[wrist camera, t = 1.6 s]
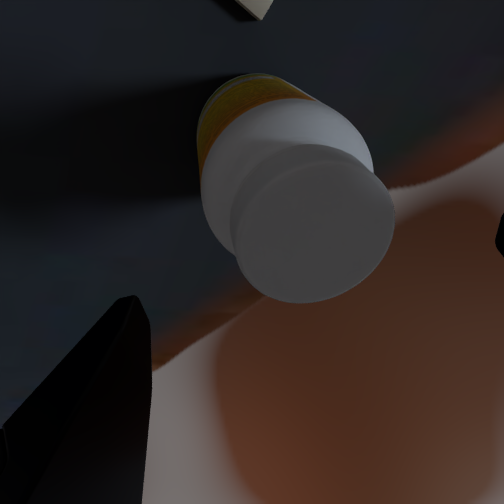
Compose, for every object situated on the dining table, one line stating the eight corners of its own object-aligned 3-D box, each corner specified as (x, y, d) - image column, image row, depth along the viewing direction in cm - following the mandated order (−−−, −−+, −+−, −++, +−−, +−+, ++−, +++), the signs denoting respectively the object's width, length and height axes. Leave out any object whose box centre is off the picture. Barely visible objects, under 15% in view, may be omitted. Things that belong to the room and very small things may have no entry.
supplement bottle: (177, 162, 17) (167, 292, 9) (228, 45, 14) (278, 73, 6) (274, 205, 19) (339, 343, 11) (331, 109, 16) (471, 192, 8)
